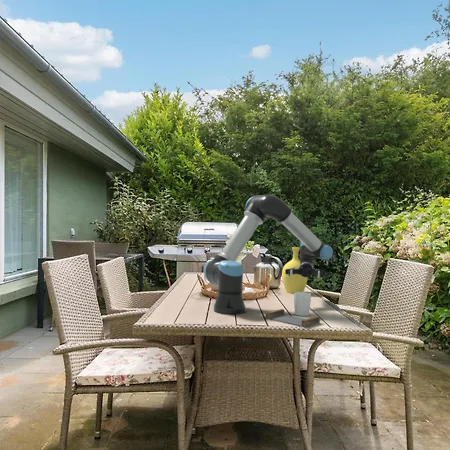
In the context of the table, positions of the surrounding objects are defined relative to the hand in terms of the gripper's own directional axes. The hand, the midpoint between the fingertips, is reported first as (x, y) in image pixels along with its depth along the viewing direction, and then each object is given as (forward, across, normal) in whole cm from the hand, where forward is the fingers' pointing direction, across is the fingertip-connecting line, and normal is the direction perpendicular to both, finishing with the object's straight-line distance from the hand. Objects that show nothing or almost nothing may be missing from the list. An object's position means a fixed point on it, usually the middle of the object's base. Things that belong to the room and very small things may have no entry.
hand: (304, 274), depth 201 cm
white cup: (+10, +1, -18) cm, 21 cm away
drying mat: (+24, +4, -17) cm, 30 cm away
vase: (-52, +8, -18) cm, 56 cm away
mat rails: (+24, +4, -17) cm, 30 cm away
